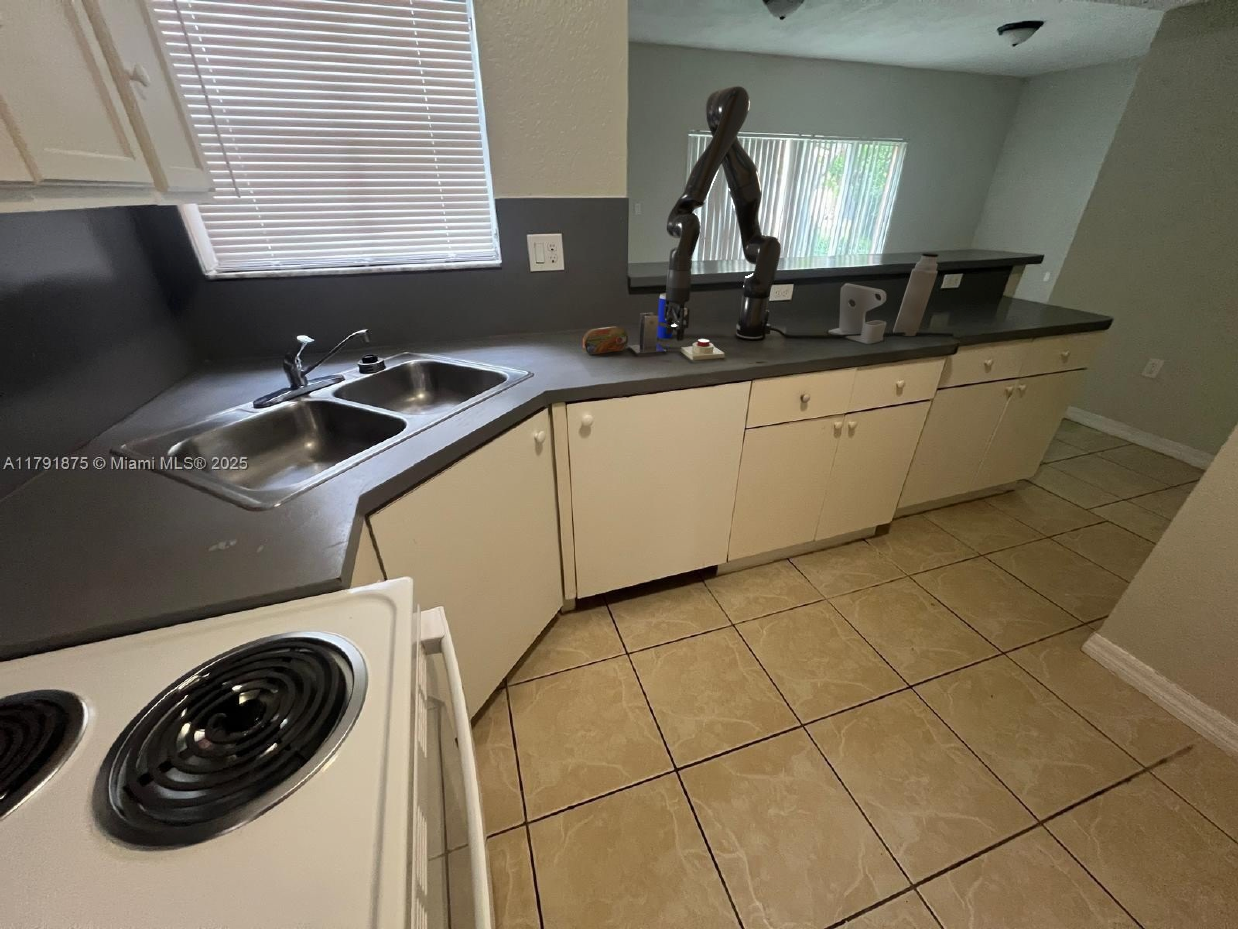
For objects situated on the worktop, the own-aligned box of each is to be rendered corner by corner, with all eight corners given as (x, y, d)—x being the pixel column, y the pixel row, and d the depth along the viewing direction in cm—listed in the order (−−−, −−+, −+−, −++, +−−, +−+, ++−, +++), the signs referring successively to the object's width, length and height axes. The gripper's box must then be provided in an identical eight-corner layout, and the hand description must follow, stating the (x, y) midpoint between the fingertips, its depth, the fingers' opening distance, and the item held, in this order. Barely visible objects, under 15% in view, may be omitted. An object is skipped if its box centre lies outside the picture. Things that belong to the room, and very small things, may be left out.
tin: (585, 358, 150) (585, 331, 146) (581, 355, 153) (580, 328, 148) (628, 352, 157) (628, 326, 152) (623, 349, 159) (624, 323, 155)
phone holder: (885, 340, 174) (901, 288, 165) (869, 344, 170) (884, 291, 160) (842, 328, 187) (855, 279, 177) (826, 332, 182) (838, 282, 173)
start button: (705, 343, 154) (706, 338, 153) (710, 347, 151) (711, 341, 150) (695, 344, 153) (696, 339, 152) (700, 348, 150) (701, 342, 149)
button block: (710, 351, 159) (712, 339, 157) (724, 360, 152) (725, 347, 150) (680, 354, 156) (681, 341, 154) (692, 363, 149) (693, 350, 147)
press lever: (673, 330, 159) (676, 323, 158) (679, 334, 155) (682, 327, 154) (640, 321, 154) (643, 313, 154) (646, 325, 150) (649, 317, 149)
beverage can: (671, 337, 172) (675, 293, 165) (671, 341, 168) (675, 296, 160) (657, 336, 173) (659, 292, 165) (656, 340, 168) (659, 295, 161)
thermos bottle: (894, 329, 188) (918, 250, 174) (917, 332, 184) (944, 252, 170) (891, 333, 182) (916, 253, 168) (915, 337, 179) (943, 255, 164)
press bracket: (656, 346, 162) (659, 310, 156) (666, 354, 156) (668, 316, 150) (628, 349, 160) (629, 312, 154) (636, 356, 153) (638, 318, 147)
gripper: (699, 288, 145) (694, 342, 153) (680, 279, 157) (676, 330, 165) (676, 289, 143) (672, 343, 151) (658, 280, 154) (655, 331, 163)
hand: (674, 336), depth 158 cm, fingers open, 8 cm apart
